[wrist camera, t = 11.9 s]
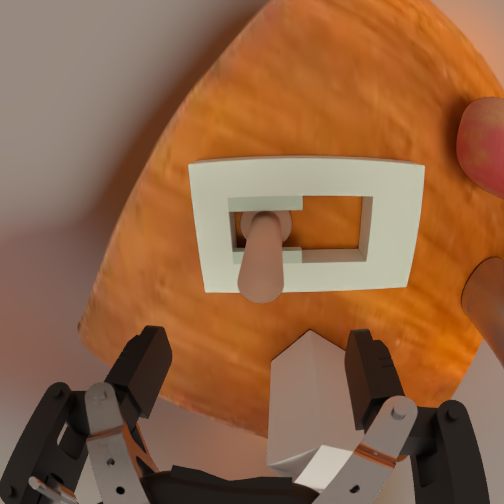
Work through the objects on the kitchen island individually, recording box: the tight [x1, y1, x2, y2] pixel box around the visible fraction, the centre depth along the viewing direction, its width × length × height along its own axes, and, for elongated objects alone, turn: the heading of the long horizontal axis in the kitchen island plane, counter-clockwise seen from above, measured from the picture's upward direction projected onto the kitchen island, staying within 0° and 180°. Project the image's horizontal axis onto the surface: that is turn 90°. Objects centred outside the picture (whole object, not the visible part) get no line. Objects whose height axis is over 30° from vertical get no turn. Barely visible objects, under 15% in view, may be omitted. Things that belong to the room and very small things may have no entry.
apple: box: [456, 97, 504, 199], centre depth 15 cm, size 10×10×10 cm
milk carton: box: [267, 330, 365, 494], centre depth 24 cm, size 7×7×19 cm
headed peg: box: [237, 210, 292, 303], centre depth 20 cm, size 5×5×11 cm
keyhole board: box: [188, 155, 425, 293], centre depth 23 cm, size 20×12×3 cm, turn 93°
